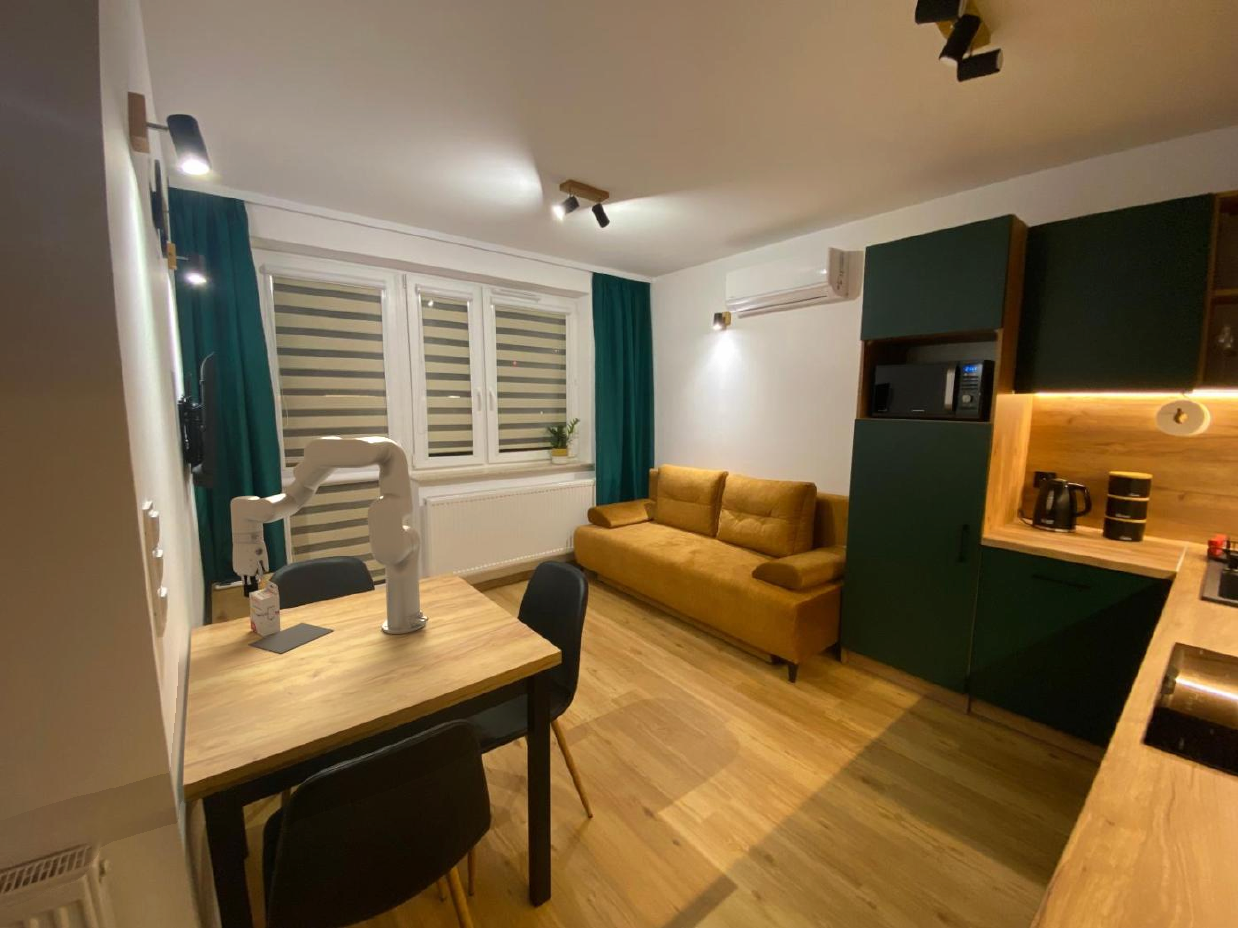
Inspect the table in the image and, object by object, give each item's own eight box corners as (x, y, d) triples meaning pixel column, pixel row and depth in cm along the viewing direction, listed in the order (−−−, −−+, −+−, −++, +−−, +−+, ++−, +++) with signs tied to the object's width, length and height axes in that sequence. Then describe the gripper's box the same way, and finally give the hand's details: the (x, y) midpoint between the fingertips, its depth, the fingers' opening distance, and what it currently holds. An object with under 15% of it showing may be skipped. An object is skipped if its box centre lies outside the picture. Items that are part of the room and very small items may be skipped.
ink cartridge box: (249, 629, 151) (247, 583, 150) (267, 623, 156) (266, 578, 154) (262, 637, 147) (260, 589, 145) (281, 631, 151) (279, 584, 149)
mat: (333, 630, 152) (333, 629, 152) (281, 653, 137) (281, 652, 137) (302, 623, 157) (302, 622, 157) (248, 644, 142) (248, 643, 142)
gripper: (277, 537, 151) (279, 595, 153) (245, 531, 157) (248, 588, 159) (250, 542, 144) (254, 603, 146) (218, 537, 150) (222, 596, 152)
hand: (251, 595), depth 152 cm, fingers closed
